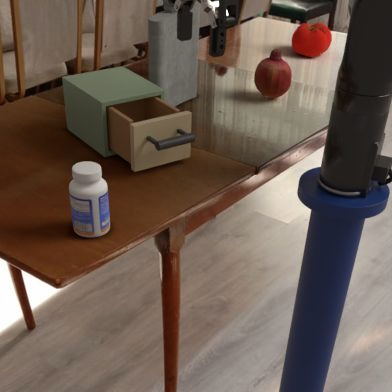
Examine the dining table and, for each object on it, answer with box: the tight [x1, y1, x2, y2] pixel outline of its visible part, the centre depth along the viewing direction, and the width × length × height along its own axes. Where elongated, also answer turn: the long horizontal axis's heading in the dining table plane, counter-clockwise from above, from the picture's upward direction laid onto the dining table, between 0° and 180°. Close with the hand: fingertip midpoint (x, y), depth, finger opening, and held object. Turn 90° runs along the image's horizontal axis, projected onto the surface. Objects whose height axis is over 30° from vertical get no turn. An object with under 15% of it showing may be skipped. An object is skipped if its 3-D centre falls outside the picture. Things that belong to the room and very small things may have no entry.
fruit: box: [253, 48, 293, 99], centre depth 132 cm, size 8×8×10 cm
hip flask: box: [147, 0, 201, 107], centre depth 124 cm, size 16×4×20 cm, turn 150°
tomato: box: [291, 22, 333, 58], centre depth 159 cm, size 10×11×7 cm
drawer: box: [106, 96, 196, 173], centre depth 107 cm, size 18×11×8 cm, turn 35°
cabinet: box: [61, 65, 165, 158], centre depth 115 cm, size 15×13×10 cm
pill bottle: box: [68, 160, 111, 239], centre depth 89 cm, size 5×5×10 cm
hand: (199, 47), depth 90 cm, fingers open, 8 cm apart
